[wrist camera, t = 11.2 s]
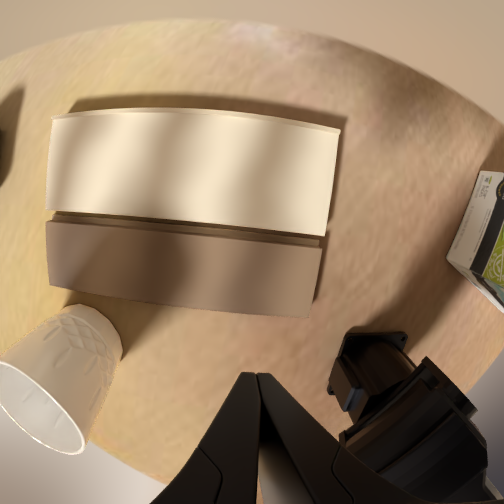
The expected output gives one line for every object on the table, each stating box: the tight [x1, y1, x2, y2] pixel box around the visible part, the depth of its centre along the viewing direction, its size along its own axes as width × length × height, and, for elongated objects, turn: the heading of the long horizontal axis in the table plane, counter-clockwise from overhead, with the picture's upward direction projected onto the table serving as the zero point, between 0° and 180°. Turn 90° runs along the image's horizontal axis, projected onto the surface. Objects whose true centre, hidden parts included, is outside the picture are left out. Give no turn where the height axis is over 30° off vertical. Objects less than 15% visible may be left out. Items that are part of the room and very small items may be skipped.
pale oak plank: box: [46, 108, 340, 236], centre depth 16 cm, size 20×7×2 cm, turn 83°
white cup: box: [0, 304, 123, 455], centre depth 15 cm, size 8×8×10 cm
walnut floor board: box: [46, 214, 322, 318], centre depth 18 cm, size 20×5×1 cm, turn 83°
